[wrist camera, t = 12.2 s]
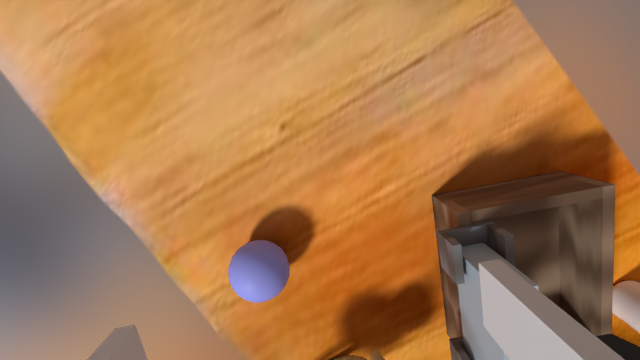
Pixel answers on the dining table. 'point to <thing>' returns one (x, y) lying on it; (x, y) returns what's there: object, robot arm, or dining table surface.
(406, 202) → the dining table surface
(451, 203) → the box
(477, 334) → the door
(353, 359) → the wall sconce
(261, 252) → the sphere
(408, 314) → the dining table surface
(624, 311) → the drinking glass
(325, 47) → the dining table surface
